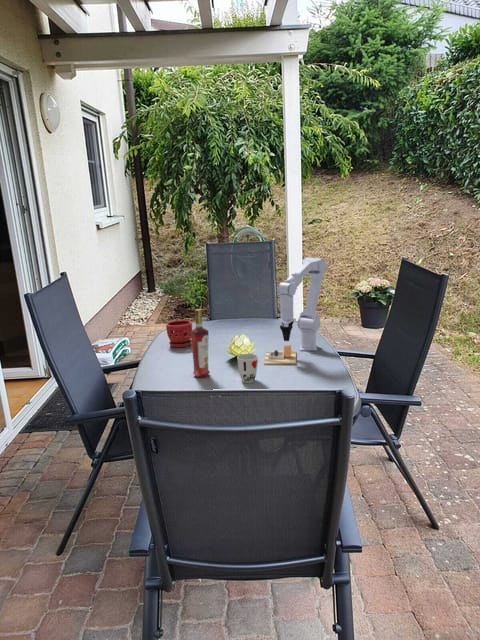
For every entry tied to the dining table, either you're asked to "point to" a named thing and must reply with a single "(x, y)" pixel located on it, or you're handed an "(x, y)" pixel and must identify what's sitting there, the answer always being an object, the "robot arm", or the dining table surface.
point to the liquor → (200, 347)
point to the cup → (247, 367)
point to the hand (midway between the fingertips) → (287, 338)
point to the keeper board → (280, 361)
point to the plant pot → (179, 333)
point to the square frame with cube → (282, 353)
